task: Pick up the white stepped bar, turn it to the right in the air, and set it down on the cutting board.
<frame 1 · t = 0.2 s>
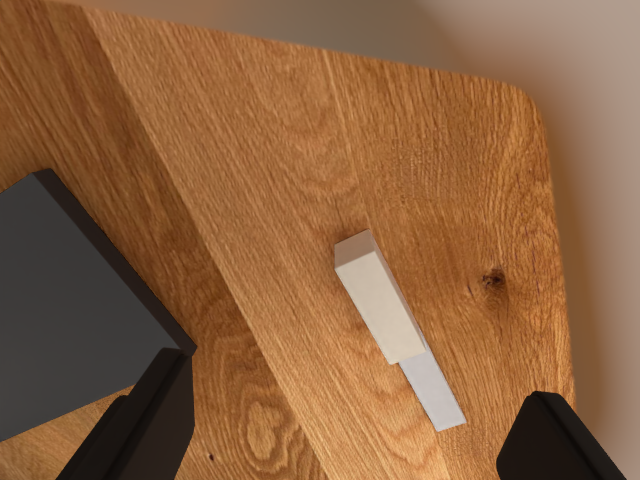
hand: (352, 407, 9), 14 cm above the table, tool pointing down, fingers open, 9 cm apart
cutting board: (8, 332, 27), on the table
white stepped bar: (403, 334, 25), on the table
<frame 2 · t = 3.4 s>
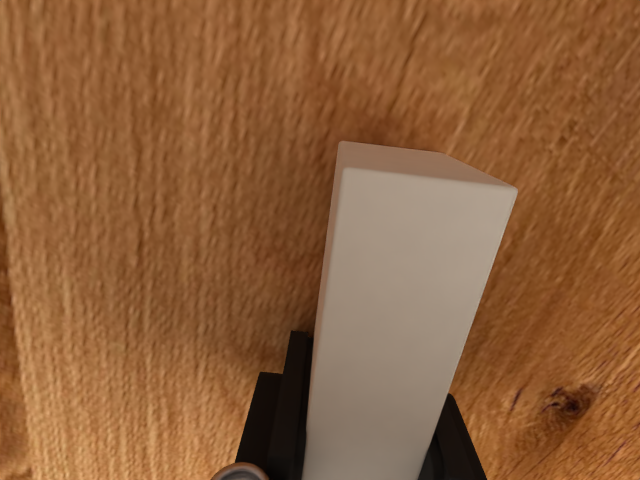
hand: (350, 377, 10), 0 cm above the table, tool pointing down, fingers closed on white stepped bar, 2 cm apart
white stepped bar: (341, 412, 12), on the table, touching gripper
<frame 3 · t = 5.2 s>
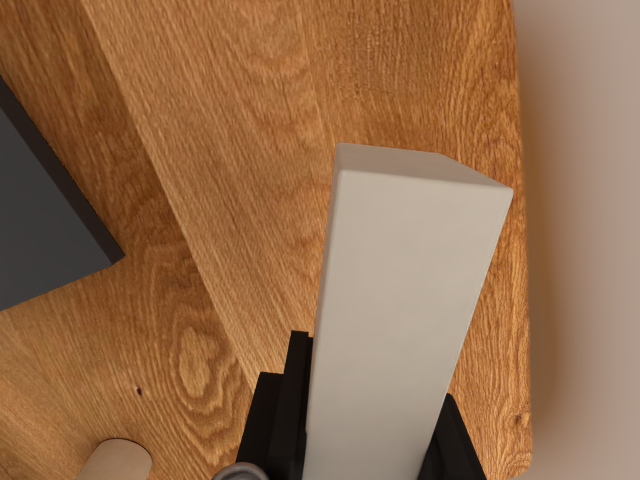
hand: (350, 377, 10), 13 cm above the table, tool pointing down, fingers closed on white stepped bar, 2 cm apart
candle: (126, 455, 33), on the table
white stepped bar: (341, 413, 12), point 13 cm above the table, touching gripper
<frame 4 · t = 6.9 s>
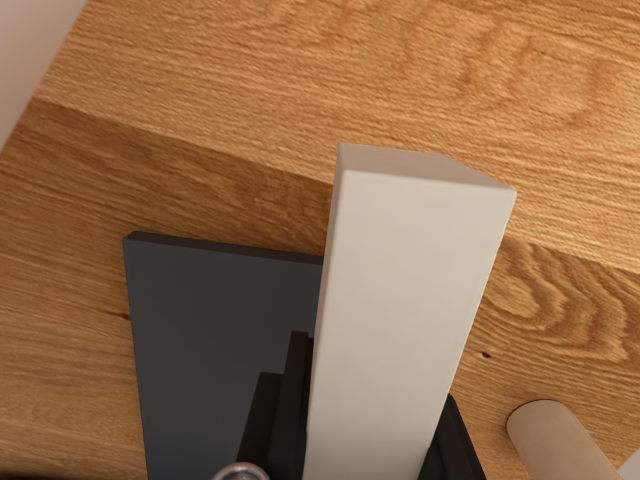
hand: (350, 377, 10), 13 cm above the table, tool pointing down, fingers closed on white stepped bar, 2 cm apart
candle: (536, 420, 29), on the table
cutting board: (240, 383, 29), on the table
white stepped bar: (341, 413, 12), point 13 cm above the table, touching gripper
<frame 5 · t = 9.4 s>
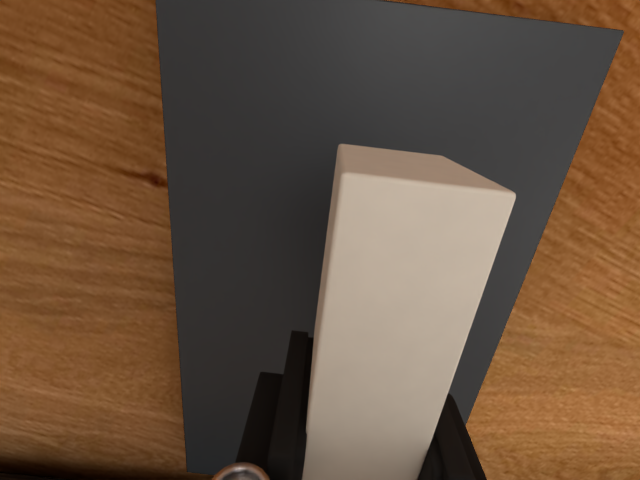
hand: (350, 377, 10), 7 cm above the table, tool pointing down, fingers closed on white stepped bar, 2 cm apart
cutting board: (338, 302, 18), on the table
white stepped bar: (341, 414, 12), point 7 cm above the table, touching gripper
when the fingers open (2 cm above the table, at t = 10.8 s): white stepped bar stays where it is, resting on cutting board.
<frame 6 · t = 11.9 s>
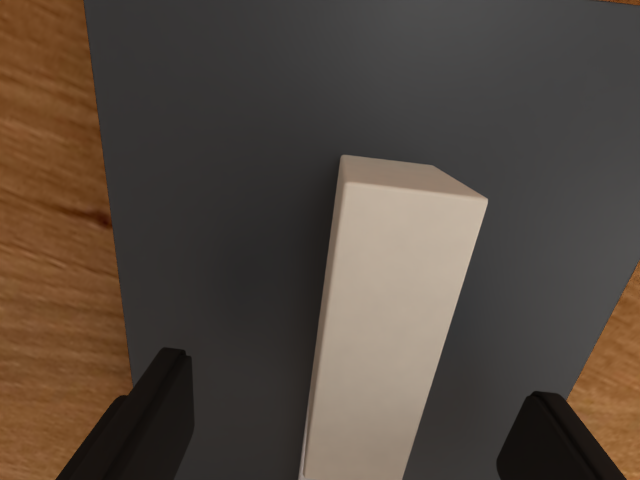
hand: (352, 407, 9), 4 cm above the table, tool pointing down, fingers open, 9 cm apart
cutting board: (342, 369, 14), on the table
white stepped bar: (343, 401, 13), point 1 cm above the table, touching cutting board
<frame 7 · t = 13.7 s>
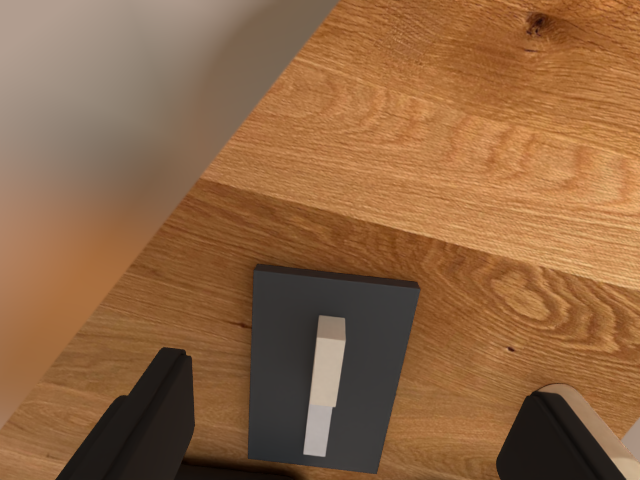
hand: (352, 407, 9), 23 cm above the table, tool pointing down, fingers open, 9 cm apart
portable speaker: (213, 473, 45), on the table
candle: (552, 400, 38), on the table
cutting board: (323, 375, 38), on the table
white stepped bar: (322, 385, 37), point 1 cm above the table, touching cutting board
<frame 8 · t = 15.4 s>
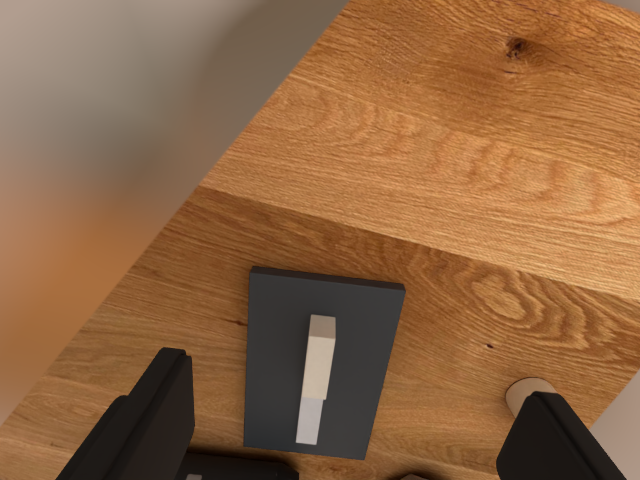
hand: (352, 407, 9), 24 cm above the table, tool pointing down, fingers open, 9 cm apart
portable speaker: (210, 459, 48), on the table
candle: (527, 392, 41), on the table
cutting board: (315, 369, 40), on the table
white stepped bar: (314, 379, 39), point 1 cm above the table, touching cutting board
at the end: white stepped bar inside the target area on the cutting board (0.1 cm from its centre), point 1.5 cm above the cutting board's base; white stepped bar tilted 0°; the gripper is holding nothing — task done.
